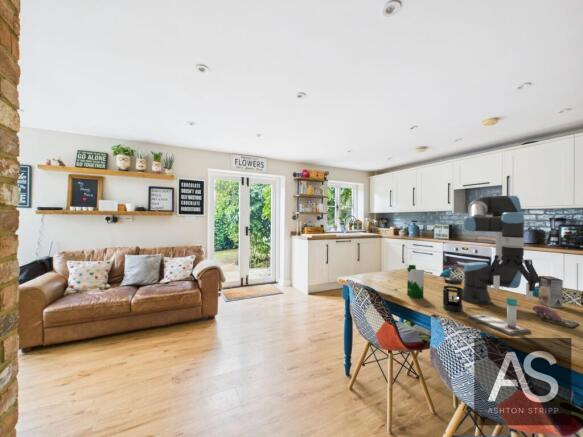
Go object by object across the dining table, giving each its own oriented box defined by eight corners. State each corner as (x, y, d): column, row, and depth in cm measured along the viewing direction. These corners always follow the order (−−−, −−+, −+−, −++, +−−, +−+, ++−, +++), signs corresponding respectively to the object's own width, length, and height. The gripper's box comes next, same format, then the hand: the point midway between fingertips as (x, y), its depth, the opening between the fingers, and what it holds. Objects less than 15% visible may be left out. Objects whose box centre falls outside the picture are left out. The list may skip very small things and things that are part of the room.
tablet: (467, 317, 127) (467, 315, 127) (486, 315, 130) (486, 313, 130) (509, 335, 108) (509, 332, 108) (530, 332, 111) (530, 329, 111)
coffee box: (537, 301, 153) (537, 275, 153) (550, 302, 151) (550, 276, 151) (549, 307, 144) (550, 279, 144) (563, 307, 142) (563, 279, 142)
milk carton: (405, 294, 167) (405, 264, 167) (419, 294, 166) (419, 264, 166) (411, 298, 158) (411, 266, 158) (425, 298, 158) (426, 266, 158)
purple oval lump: (534, 317, 133) (529, 305, 132) (541, 312, 133) (536, 301, 133) (556, 325, 123) (551, 312, 122) (563, 320, 123) (558, 308, 123)
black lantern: (451, 305, 145) (452, 265, 145) (468, 311, 136) (468, 269, 136) (436, 307, 141) (437, 267, 141) (452, 314, 132) (452, 270, 132)
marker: (504, 326, 114) (504, 298, 114) (510, 325, 115) (510, 297, 115) (512, 329, 111) (513, 300, 111) (518, 329, 111) (518, 299, 111)
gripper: (479, 243, 124) (478, 286, 124) (539, 250, 100) (538, 303, 100) (491, 243, 126) (490, 285, 126) (553, 249, 101) (552, 302, 102)
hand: (511, 293), depth 113 cm, fingers open, 13 cm apart
